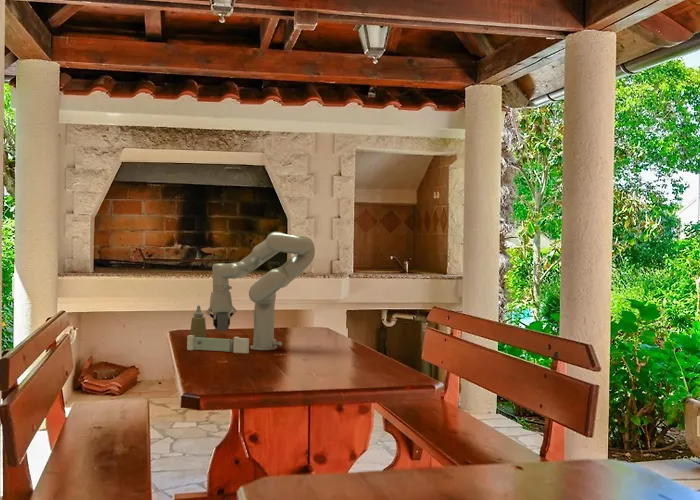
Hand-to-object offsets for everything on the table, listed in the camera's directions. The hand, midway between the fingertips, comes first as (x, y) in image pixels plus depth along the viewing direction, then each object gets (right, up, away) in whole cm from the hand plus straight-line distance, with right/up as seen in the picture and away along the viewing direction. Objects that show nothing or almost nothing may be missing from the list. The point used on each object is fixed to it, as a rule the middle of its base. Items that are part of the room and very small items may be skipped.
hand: (221, 326), depth 362 cm
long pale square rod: (-1, -10, -14) cm, 17 cm away
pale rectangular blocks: (+1, -10, -14) cm, 18 cm away
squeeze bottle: (-14, -9, +15) cm, 23 cm away
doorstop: (0, -2, 0) cm, 2 cm away
